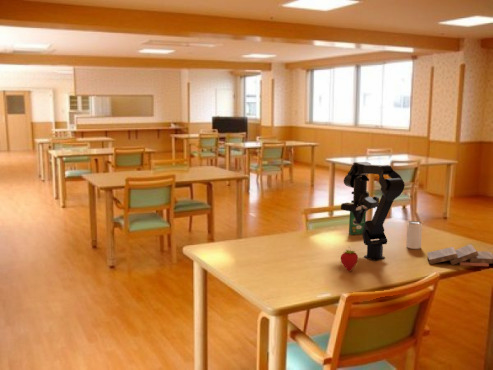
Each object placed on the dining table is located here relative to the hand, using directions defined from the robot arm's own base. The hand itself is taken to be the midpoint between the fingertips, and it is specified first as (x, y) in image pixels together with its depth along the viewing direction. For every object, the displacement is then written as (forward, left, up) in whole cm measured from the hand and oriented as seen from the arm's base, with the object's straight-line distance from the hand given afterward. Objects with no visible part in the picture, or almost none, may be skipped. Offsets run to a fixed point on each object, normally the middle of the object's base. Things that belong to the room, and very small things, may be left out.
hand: (359, 223), depth 226 cm
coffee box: (+20, +19, -12) cm, 30 cm away
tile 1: (+12, -29, -11) cm, 33 cm away
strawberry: (-26, -19, -12) cm, 34 cm away
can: (+23, -13, -12) cm, 29 cm away
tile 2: (+17, -35, -11) cm, 40 cm away
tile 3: (+23, -39, -10) cm, 46 cm away
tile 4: (+21, -36, -12) cm, 44 cm away
